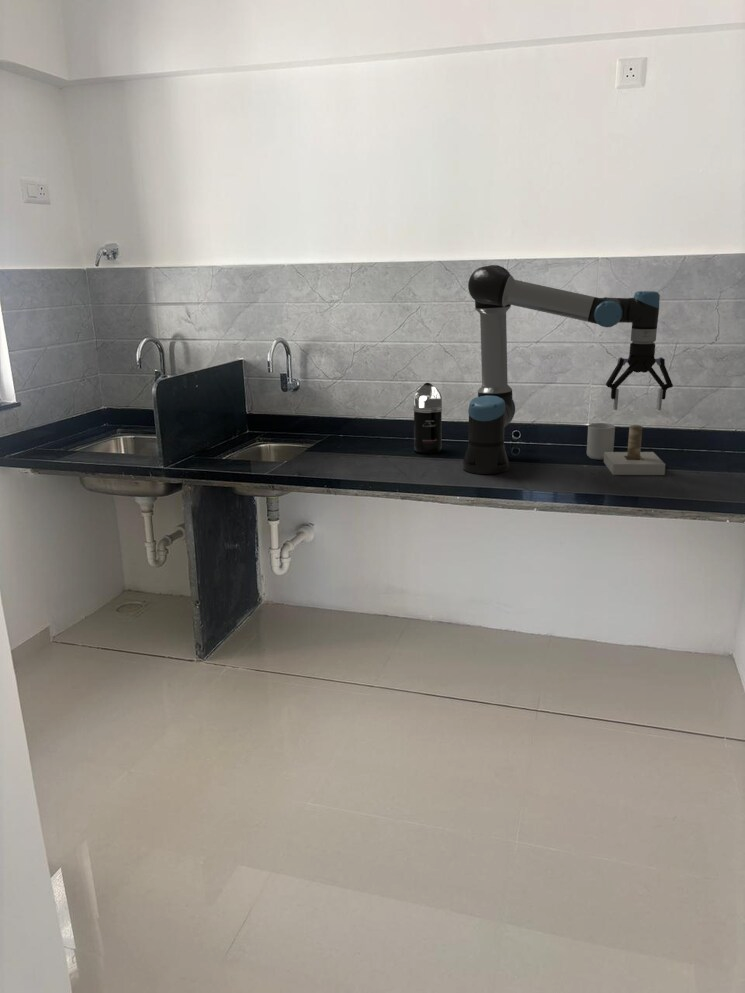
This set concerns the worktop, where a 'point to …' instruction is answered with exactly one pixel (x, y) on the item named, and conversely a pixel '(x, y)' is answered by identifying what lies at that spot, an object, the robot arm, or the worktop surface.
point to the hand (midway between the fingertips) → (636, 409)
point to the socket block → (634, 464)
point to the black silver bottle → (427, 419)
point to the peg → (634, 442)
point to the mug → (600, 440)
